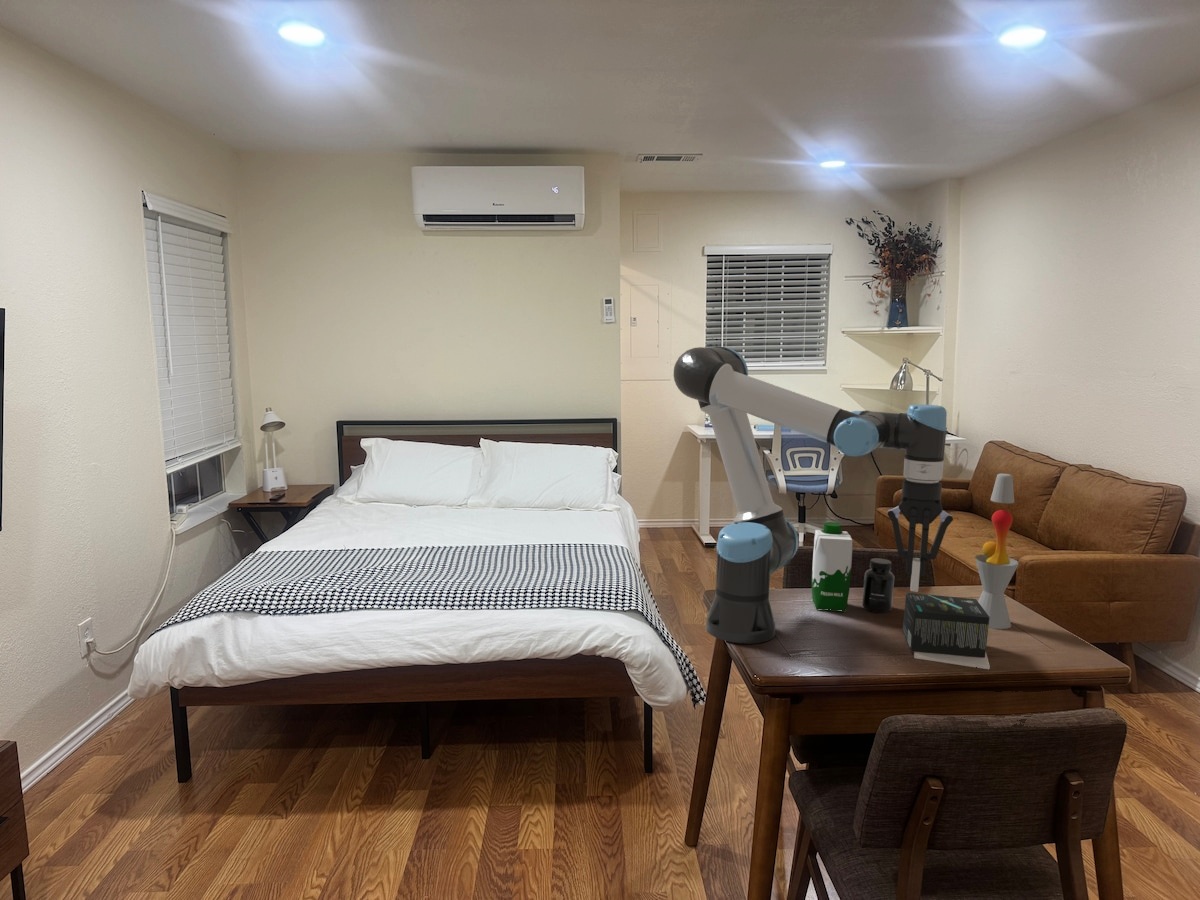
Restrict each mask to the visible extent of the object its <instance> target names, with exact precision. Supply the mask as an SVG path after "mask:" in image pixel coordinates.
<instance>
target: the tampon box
mask: <svg viewBox="0 0 1200 900" xmlns="http://www.w3.org/2000/svg"><path fill="white" fill-rule="evenodd" d="M904 601H905V603H904V613H903V622H902V634H903V636H904V638H905V641H906V643H907V644H908V648H909V650H910V652H914V651H916V652H929V653H939V654H950V655H959V656H969V657H982V658H985V654H987V652H986V651H987V645H988V644H987V643H988V634H989V628H988V626H989V619H990V617H989V616H988V614H987V613H986V612H985V610H984V609H983V608H982V606H981V605H980V604H979V602H978V599H976V598H967V597H958V596H949V595H947V596H946V595H939V594H938V595H937V594H928V593H927V594H926V593H918V592H906V593H905V600H904Z"/></svg>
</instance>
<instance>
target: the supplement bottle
mask: <svg viewBox="0 0 1200 900" xmlns="http://www.w3.org/2000/svg"><path fill="white" fill-rule="evenodd" d="M891 570H892V561H891V560H889V559H885V558H877V557H875V558H871V559H870V563H869V569H867V570H866V571H865V572H864V579H863V591H862V601H861V606H862V607H863V609H865V610H866V609H867V611H869V610H870V612H872V611H873V613H877V612H881V613H880V614H885V613H884V612H886V613H889V612H890V611H892V608H893V599H894V597H893V596H894V589H895V588H894V587H895V574H893V572H892V571H891Z"/></svg>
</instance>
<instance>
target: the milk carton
mask: <svg viewBox="0 0 1200 900" xmlns="http://www.w3.org/2000/svg"><path fill="white" fill-rule="evenodd" d="M812 552H813V553H812V564H811V565H812V570H811V598H812V599H813V600H812V602H814V603H813V605H814V604H815V605H814V607H815V610H816V609H828V610H830V609H831V610H842V611H846V612H847V609H848V608H847V607H848V602H849V593H850V588H851V587H850V586H851V576H852V575H851V574H852V573H851V572H852V563H853V562H852V560H853V539H852V536H851V535H850V534H849V533H848V531H842V524H840V523H838V522H833V521H830V522H829V521H827V522H824V523H823V529H815V530H814V538H813V551H812ZM842 611H841V612H842Z"/></svg>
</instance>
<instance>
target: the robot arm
mask: <svg viewBox="0 0 1200 900" xmlns="http://www.w3.org/2000/svg"><path fill="white" fill-rule="evenodd" d="M673 366H674V367H673V380H674V383H675V386H676V387H677V389H678V390H679V391H680V392H681V393H682V394H683V395H684V396H686V397H687V398H690V399H693V400H696V401H697V402H698V406H699V408H700V411H701V412H703V413H705V414H707V415H708V416H709V417H708V418H709V420H710V423H711V426H712V430H713V434H714V436H715V440H716V443H717V447H718V450H719V452H720V456H721V460H722V463H723V466H724V470H725V474H726V478H727V480H728V485H729V487H730V491H731V494H732V498H733V500H734V505H735V507H736V511H737V513H736V516H735V517H734V519H733V523H730V524H728V525H726V526H723V528H721V529H720V530H719V533H718V536H717V538H718V539H717V541H716V569H715V592H714V593H715V595H714V598H713V601H712V603H711V606H710V608H709V611H708V614H707V616H706V619H705V621H706V623H705V630H706V632H707V633H708V634H709V635H710V636H712V637H714V638H716V639H719V640H722V641H725V642H730V643H734V644H746V645H747V644H751V645H752V644H761V643H765V642H768V641H771V640H773V638H774V637H775V635H776V622H775V617H774V614H773V611H772V606H771V602H770V583H771V582H770V581H771V575H772V574H773V573H775V572H777V571H778V570H780V569H782V568H783V567H785V566H788V564H789V563H790V562H791V560H792V559H793V558H794V556H795V555H796V553H797V551H798V547H799V537H798V533H797V530H796V528H795V526H794V525H793V524H792V522H790V521H789V520H787V519H786V517H785V513H784V510H783V508H782V507H781V506H780V505H778V504H776V503H775V502H774V499H773V497H772V493H771V490H770V487H769V482H768V479H767V477H766V473H765V470H764V466H763V462H762V460H761V456H760V453H759V449H758V445H757V443H756V440H755V436H754V432H753V429H752V426H751V423H750V419H749V416H748V415H751V416H753V417H756V418H758V419H761V420H764V421H767V422H770V423H772V424H774V425H778V426H781V427H783V428H785V429H788V430H791V431H794V432H797V433H799V434H802V435H805V436H807V437H810V438H812V439H815V440H817V441H820V442H823V443H826V444H828V445H831V446H832V447H836V449H837V450H838V451H839V452H841V453H842V454H844V455H845V456H848V457H861V456H862V457H863V456H865V455H868V454H869V453H871V452H873V451H875V450H877V449H879V448H881V449H895V450H904V461H903V472H902V473H903V475H902V476H903V477H904V479H903V480H902V487H901V489H902V490H901V500H900V501H899V502H898V505H897V506H896V507H893V508H889V509H888V510H887V516H888V518H889V519H890V521H891V524H892V528H893V529H892V530H893V534H894V539H895V544H896V550H897V555H898V556H899V557H902V558H905V561H906V562H905V563H906V564H905V573H906V575H910V592H914V593H918V592H919V583H920V576H921V577H925V576H926V570H927V562H928V561H929V560H930V561H931V560H936V559H937V556H938V553H939V550H940V549H941V545H942V542H943V540H944V536H945V535H946V532H947V528H948V526H949V525H950V524H951V523H952V522H953V521H954V517H953V515H952V514H951V513H948V512H947V511H945V510H943V505H942V503H941V502H942V501H941V500H942V490H943V489H942V488H943V487H942V486H943V483H942V480H943V475H944V474H943V473H944V462H945V460H944V459H945V449H946V446H945V445H946V439H947V431H948V427H947V413H948V411H947V409H946V408H945V407H944V406H942V405H938V404H919V403H918V404H916V403H915V404H910V405H909V406H908V408H907V411H906V412H905V413H897V412H896V413H895V412H883V411H872V410H853V411H849V410H845V409H843V408H841V407H838V406H834V405H833V404H832V405H831V404H828V403H827V402H824V401H820V400H818V399H815V398H812V397H809V396H806V395H804V394H801V393H797V392H795V391H792V390H789V389H786V388H784V387H780V386H778V385H775V384H772V383H769V382H766V381H763V380H761V379H758V378H755V377H752V376H749V369H748V365H747V363H746V361H745V358H744V357H743V356H741V354H740V353H739V352H737V351H736V350H734V349H732V348H728V347H726V346H720V345H719V346H711V347H710V346H709V347H704V346H703V347H702V346H701V347H700V346H699V347H693V348H690V349H688V350H685V351H684V352H683V353H682V354H680V356H679V357H678V358H677V360H676V362H675V363H674V365H673ZM900 512H901V513H902V515H903V517H904V518H905V519H906V521H907V522H908V534H907V535H908V536H907V547H906V548H907V550H906V549H905V547H904V542H903V538H902V532H901V527H900V526H901V525H900V521H899V518H900V517H901V516H900V515H901V514H900ZM938 517H939V521H940V523H939V525H938V528H937V531H936V533H935V537H934V540H933V543H932V545H931V547H930V548H931V549H930V550H929V552H928V545H929V531H930V524H932V523H933V522H934V521H936V519H937V518H938ZM918 524H920V525H921V538H920V552H919V558H918V557H914V554H915V553H914V552H915V551H914V550H915V539H916V527H917V525H918Z"/></svg>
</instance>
